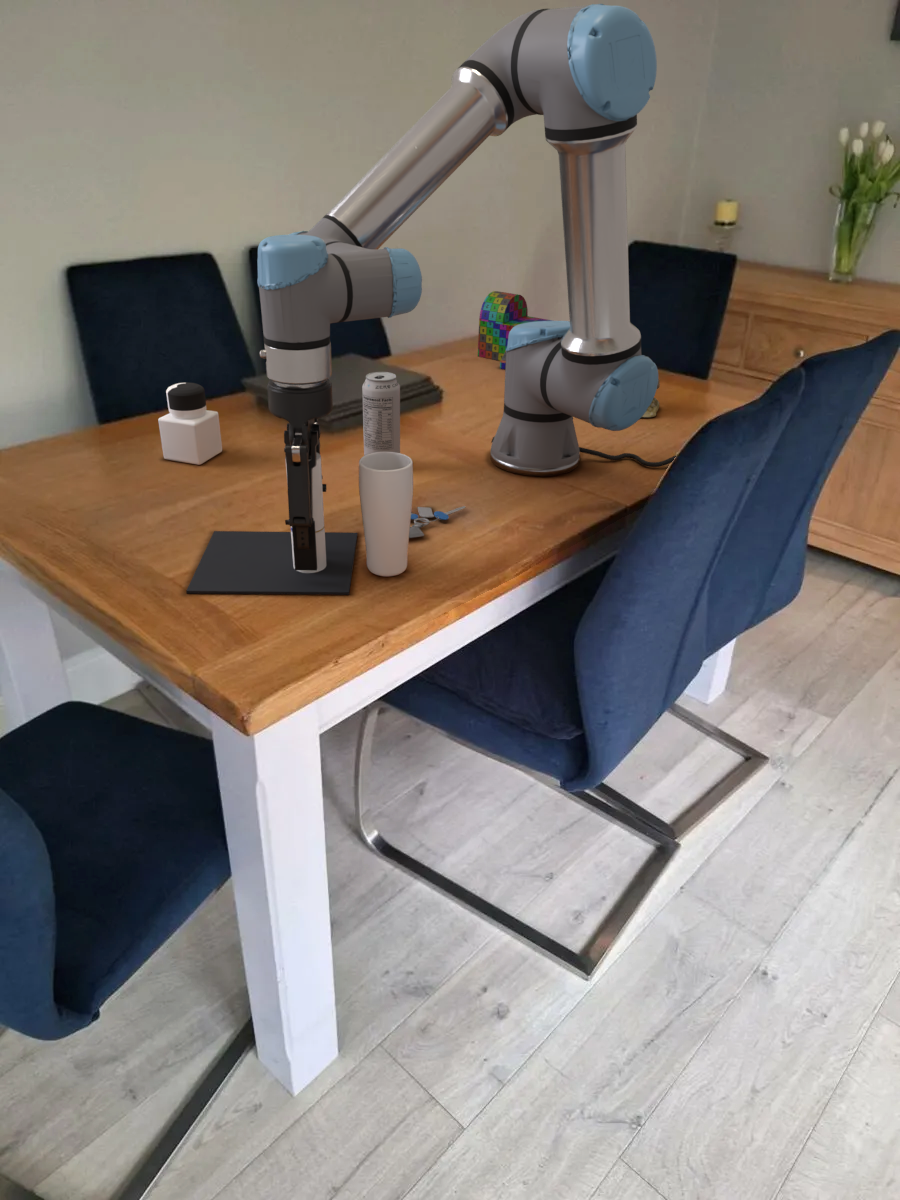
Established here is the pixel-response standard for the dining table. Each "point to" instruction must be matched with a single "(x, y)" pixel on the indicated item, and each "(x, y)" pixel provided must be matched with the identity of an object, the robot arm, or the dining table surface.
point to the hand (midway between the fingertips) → (309, 553)
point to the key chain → (425, 513)
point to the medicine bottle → (189, 426)
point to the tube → (316, 517)
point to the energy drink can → (381, 413)
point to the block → (500, 323)
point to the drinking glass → (386, 510)
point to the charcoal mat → (270, 565)
